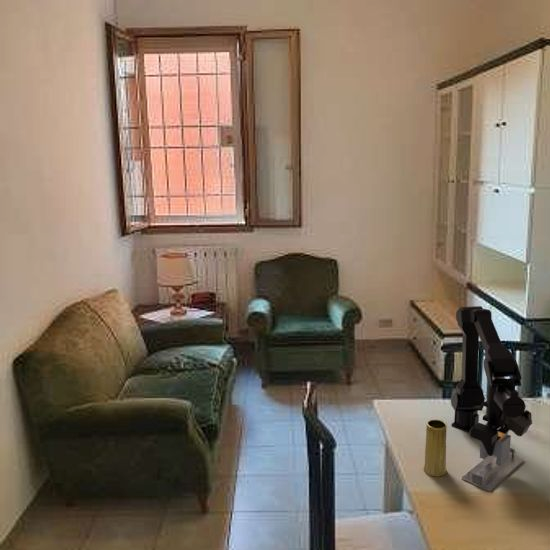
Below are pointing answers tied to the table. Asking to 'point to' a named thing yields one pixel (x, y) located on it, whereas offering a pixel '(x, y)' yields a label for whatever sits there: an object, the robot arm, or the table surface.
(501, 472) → the rail
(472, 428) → the robot arm
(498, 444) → the grey slider block
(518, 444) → the table surface
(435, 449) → the vase
